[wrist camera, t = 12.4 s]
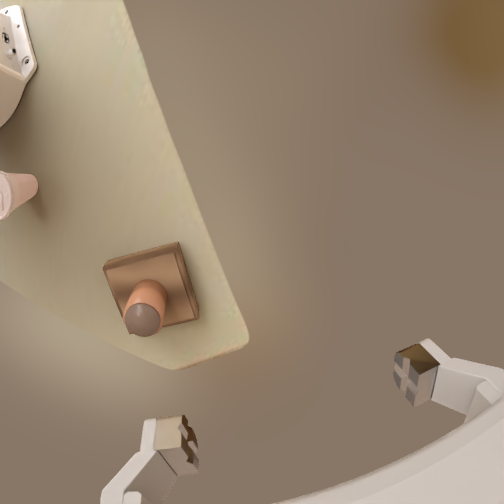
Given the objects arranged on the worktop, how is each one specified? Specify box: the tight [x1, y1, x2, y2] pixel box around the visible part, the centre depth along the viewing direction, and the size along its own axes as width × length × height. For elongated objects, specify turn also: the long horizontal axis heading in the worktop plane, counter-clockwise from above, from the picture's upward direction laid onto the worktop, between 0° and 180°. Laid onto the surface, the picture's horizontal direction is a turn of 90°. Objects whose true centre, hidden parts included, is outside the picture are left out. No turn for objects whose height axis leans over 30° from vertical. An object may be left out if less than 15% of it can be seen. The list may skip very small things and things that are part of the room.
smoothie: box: [0, 171, 38, 220], centre depth 31 cm, size 6×6×14 cm
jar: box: [123, 279, 167, 337], centre depth 39 cm, size 5×5×7 cm
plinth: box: [103, 242, 199, 334], centre depth 44 cm, size 11×11×3 cm
